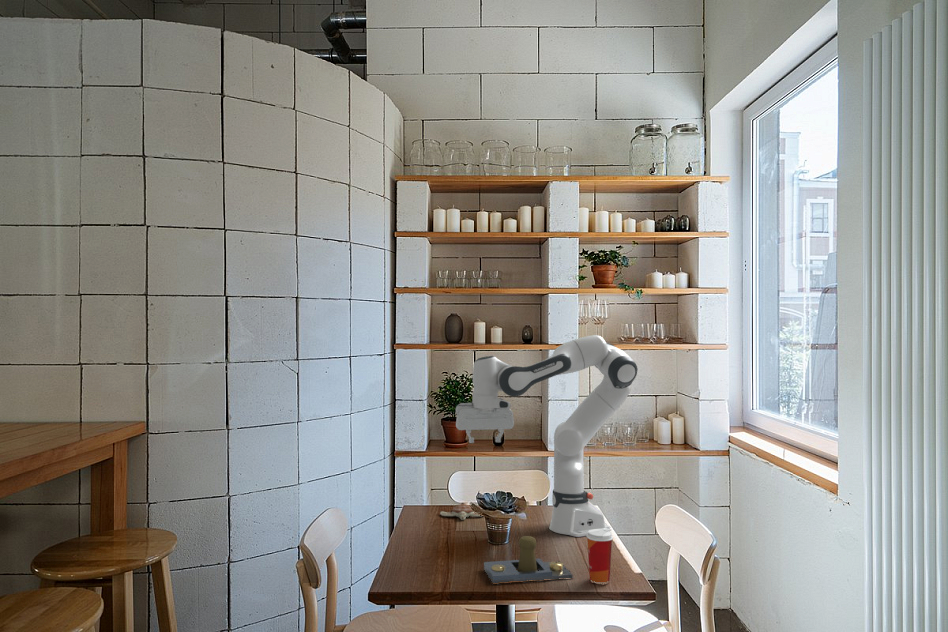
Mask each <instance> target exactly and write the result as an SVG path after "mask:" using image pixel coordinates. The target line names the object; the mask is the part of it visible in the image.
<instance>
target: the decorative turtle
mask: <svg viewBox="0 0 948 632" xmlns="http://www.w3.org/2000/svg"><path fill="white" fill-rule="evenodd" d="M470 506H471V505H469V504H467V503H466V504H465V503H459V504H457V505H456V506H454V507H453V508H452V509H451V512H450V511H449V512H446V511H442V510H441V511H440V513H439V514H440V515H441V516H442V517H457V518H459V519H460V520H461V521H465V520H466V519H467V518H469V516H470V517H481V516H480V515H478V514H475V513H476V512H475V511H474V512H475V513H474V512H473V511H472V509H471V507H472V506H471V507H470ZM466 517H467V518H466Z"/></svg>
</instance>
